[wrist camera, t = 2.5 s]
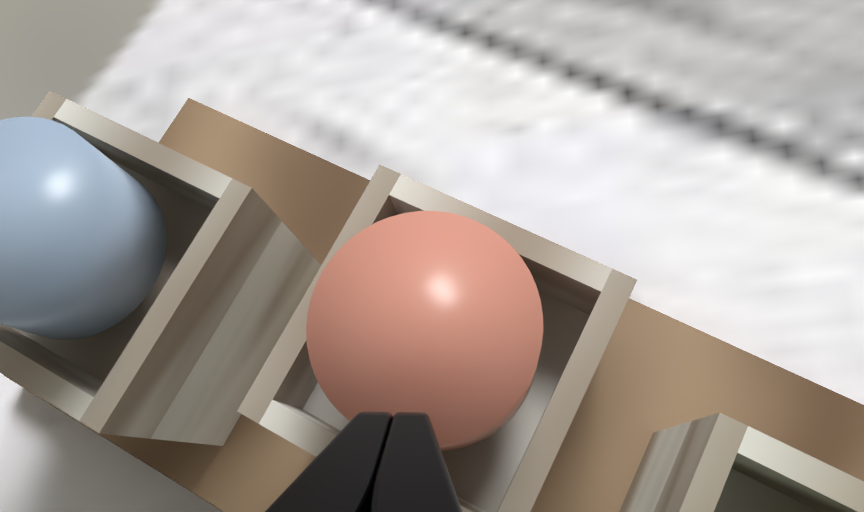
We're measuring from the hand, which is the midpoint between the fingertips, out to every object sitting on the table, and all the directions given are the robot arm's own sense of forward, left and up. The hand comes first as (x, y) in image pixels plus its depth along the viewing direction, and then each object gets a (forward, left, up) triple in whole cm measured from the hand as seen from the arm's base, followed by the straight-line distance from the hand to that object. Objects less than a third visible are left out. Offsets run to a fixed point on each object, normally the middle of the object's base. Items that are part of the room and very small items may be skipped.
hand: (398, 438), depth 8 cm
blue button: (-5, +7, -5) cm, 10 cm away
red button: (+1, +2, -5) cm, 5 cm away
